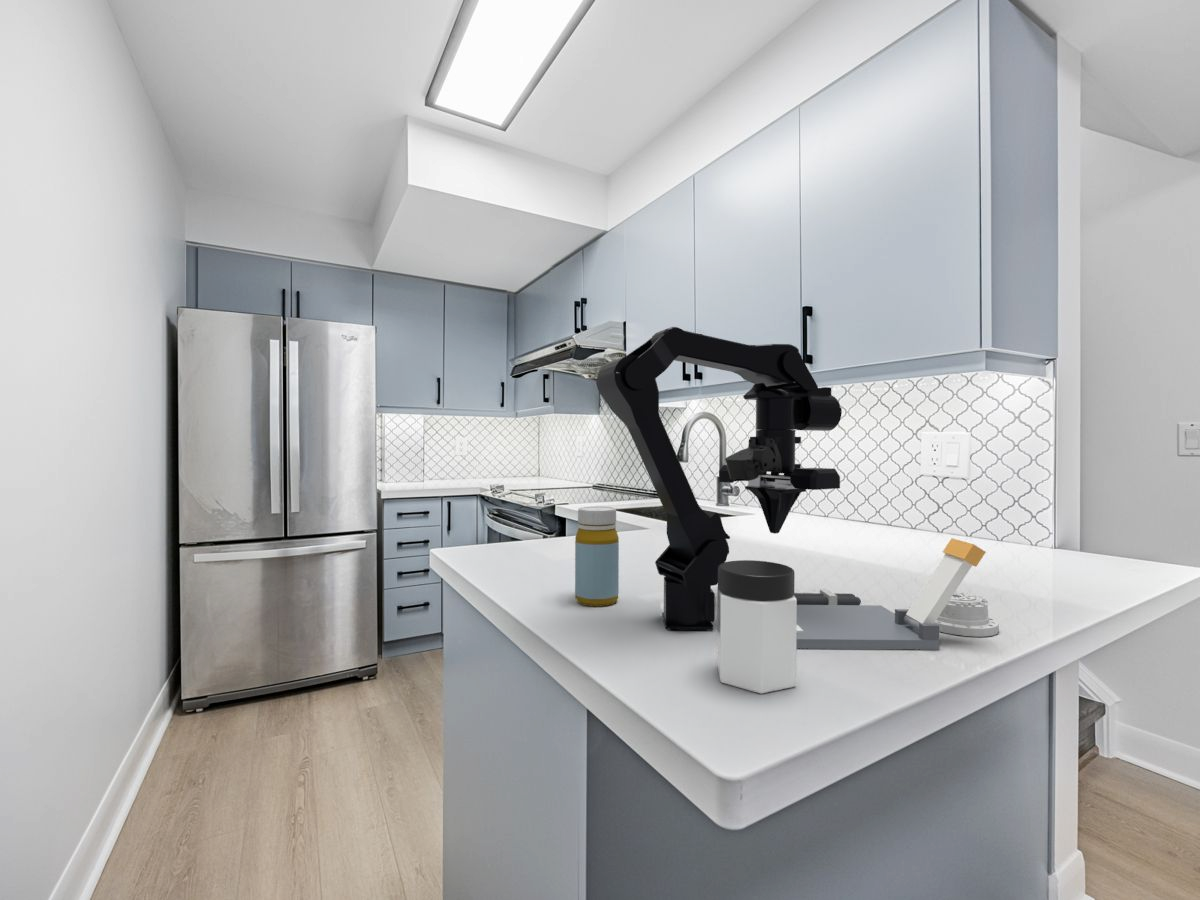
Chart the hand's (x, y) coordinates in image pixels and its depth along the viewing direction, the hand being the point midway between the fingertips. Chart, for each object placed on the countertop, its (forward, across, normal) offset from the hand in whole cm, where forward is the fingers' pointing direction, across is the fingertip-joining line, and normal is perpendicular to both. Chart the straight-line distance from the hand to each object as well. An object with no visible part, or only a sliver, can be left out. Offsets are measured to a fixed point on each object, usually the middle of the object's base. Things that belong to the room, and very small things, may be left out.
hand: (774, 533), depth 85 cm
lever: (+10, +18, +6) cm, 21 cm away
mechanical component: (+12, +18, +17) cm, 27 cm away
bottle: (+12, -19, -20) cm, 30 cm away
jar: (+12, +15, -20) cm, 28 cm away
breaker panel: (+12, +10, 0) cm, 15 cm away
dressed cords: (+12, 0, +6) cm, 14 cm away
